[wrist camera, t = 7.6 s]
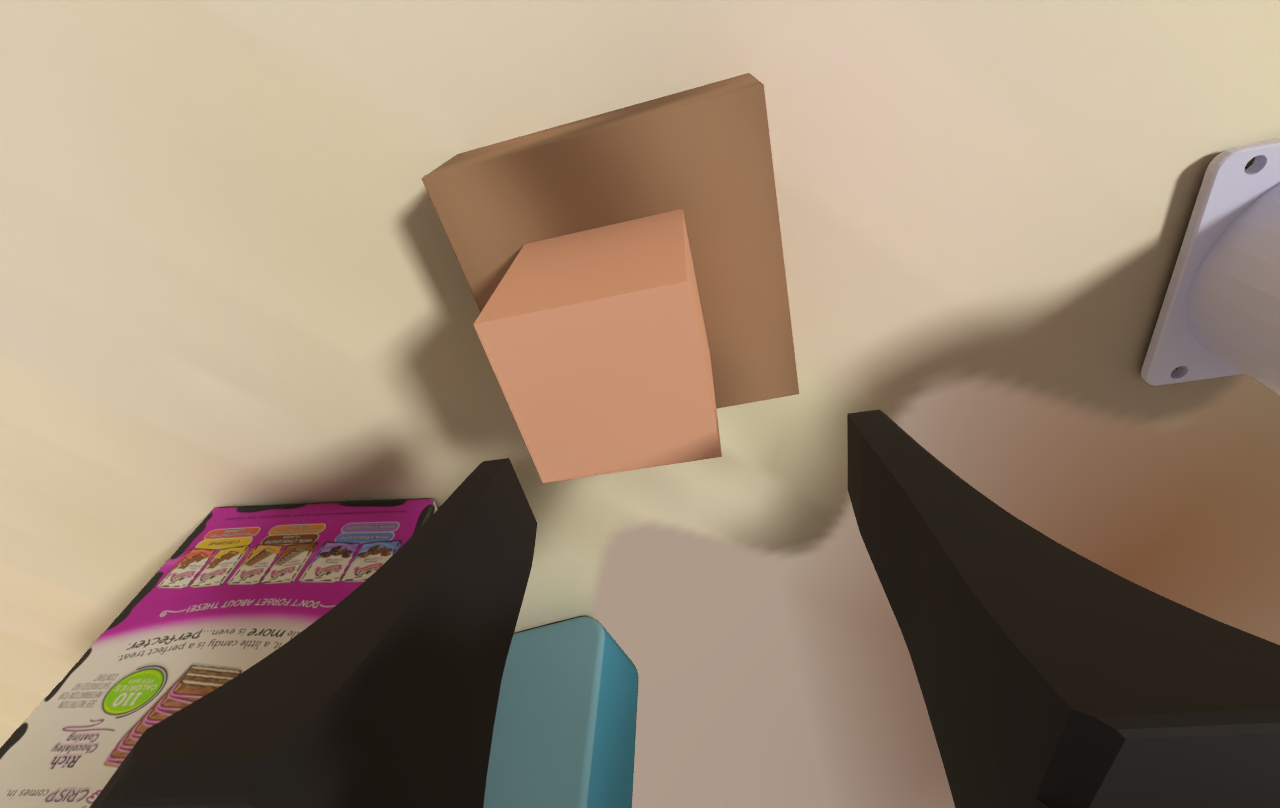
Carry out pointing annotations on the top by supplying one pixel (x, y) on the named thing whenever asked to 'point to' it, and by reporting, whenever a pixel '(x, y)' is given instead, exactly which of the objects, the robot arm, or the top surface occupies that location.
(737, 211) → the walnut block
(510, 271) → the terracotta block
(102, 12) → the top surface
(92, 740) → the candy bar box
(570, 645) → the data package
